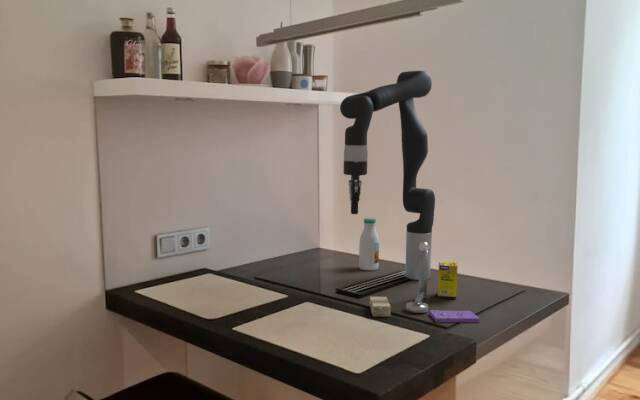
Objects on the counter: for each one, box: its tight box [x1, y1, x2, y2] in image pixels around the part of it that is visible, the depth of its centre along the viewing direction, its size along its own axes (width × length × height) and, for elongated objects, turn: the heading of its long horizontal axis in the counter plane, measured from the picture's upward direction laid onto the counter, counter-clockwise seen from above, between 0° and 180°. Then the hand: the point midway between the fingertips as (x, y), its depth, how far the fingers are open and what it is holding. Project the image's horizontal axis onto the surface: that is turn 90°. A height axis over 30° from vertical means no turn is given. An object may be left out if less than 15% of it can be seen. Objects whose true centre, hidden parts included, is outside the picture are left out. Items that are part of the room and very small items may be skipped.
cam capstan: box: [405, 242, 429, 314], centre depth 171 cm, size 18×6×18 cm, turn 163°
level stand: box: [369, 296, 392, 318], centre depth 164 cm, size 11×5×3 cm, turn 1°
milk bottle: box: [358, 217, 380, 271], centre depth 219 cm, size 8×8×20 cm
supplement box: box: [436, 261, 458, 300], centre depth 182 cm, size 6×6×11 cm
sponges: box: [429, 309, 481, 323], centre depth 160 cm, size 7×13×2 cm, turn 93°
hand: (354, 213), depth 178 cm, fingers closed
